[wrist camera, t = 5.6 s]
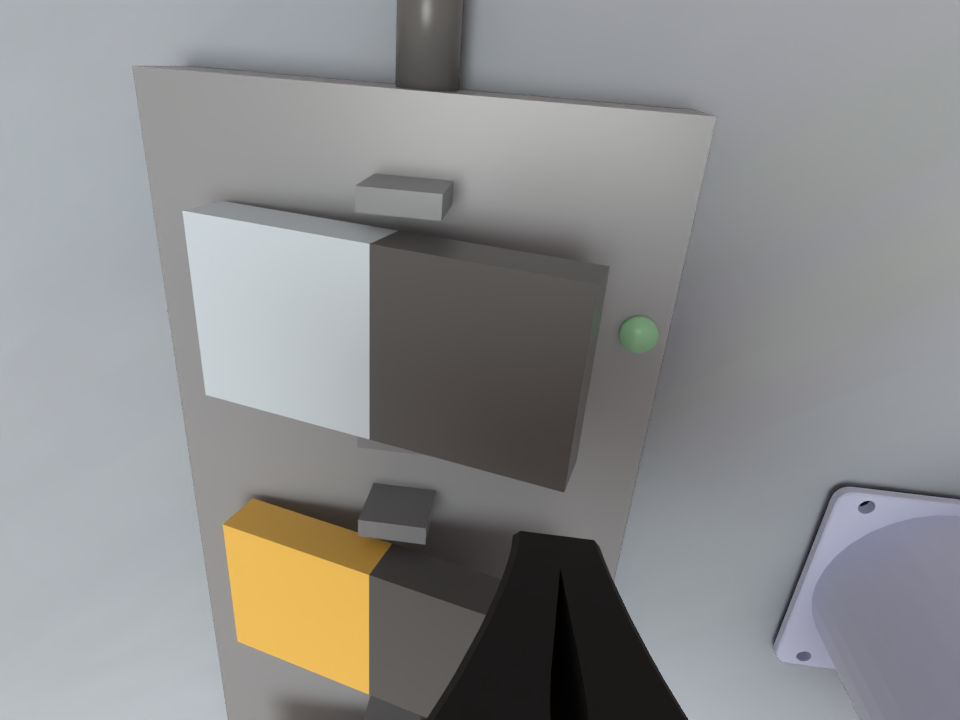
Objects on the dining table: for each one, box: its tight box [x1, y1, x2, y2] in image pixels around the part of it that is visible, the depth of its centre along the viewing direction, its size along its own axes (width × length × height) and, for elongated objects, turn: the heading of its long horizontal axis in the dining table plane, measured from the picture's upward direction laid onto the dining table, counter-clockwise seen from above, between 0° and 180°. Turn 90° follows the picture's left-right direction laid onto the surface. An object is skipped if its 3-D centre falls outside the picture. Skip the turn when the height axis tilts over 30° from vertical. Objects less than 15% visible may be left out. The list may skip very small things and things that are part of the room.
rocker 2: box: [223, 498, 501, 718], centre depth 19 cm, size 10×5×1 cm, turn 85°
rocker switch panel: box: [132, 0, 716, 720], centre depth 21 cm, size 14×35×4 cm, turn 175°
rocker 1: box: [182, 201, 610, 492], centre depth 15 cm, size 10×5×1 cm, turn 85°
